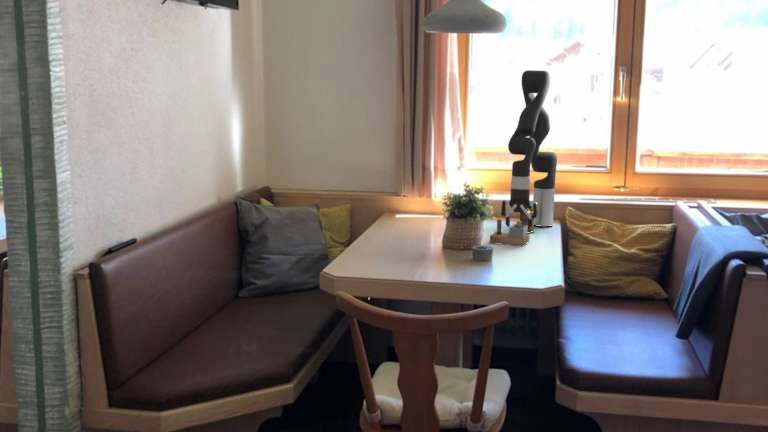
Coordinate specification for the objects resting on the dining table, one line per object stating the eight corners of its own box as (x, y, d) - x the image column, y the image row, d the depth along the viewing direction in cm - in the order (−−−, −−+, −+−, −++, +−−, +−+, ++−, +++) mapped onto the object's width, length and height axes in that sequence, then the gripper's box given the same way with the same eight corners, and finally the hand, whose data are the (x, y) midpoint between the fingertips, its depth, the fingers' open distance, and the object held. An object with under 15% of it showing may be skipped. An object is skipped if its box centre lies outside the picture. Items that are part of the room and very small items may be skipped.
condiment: (537, 232, 347) (538, 204, 344) (525, 234, 341) (527, 207, 339) (523, 229, 352) (525, 202, 350) (512, 232, 346) (513, 204, 344)
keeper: (495, 238, 331) (496, 217, 330) (529, 241, 326) (530, 220, 325) (489, 243, 323) (490, 221, 322) (524, 246, 318) (525, 223, 316)
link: (513, 233, 328) (514, 223, 327) (527, 234, 326) (527, 225, 325) (509, 237, 320) (509, 227, 320) (522, 238, 318) (523, 228, 318)
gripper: (540, 187, 320) (538, 227, 323) (505, 184, 326) (503, 224, 328) (536, 189, 313) (534, 230, 316) (500, 187, 319) (499, 227, 322)
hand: (518, 227), depth 322 cm, fingers open, 8 cm apart
